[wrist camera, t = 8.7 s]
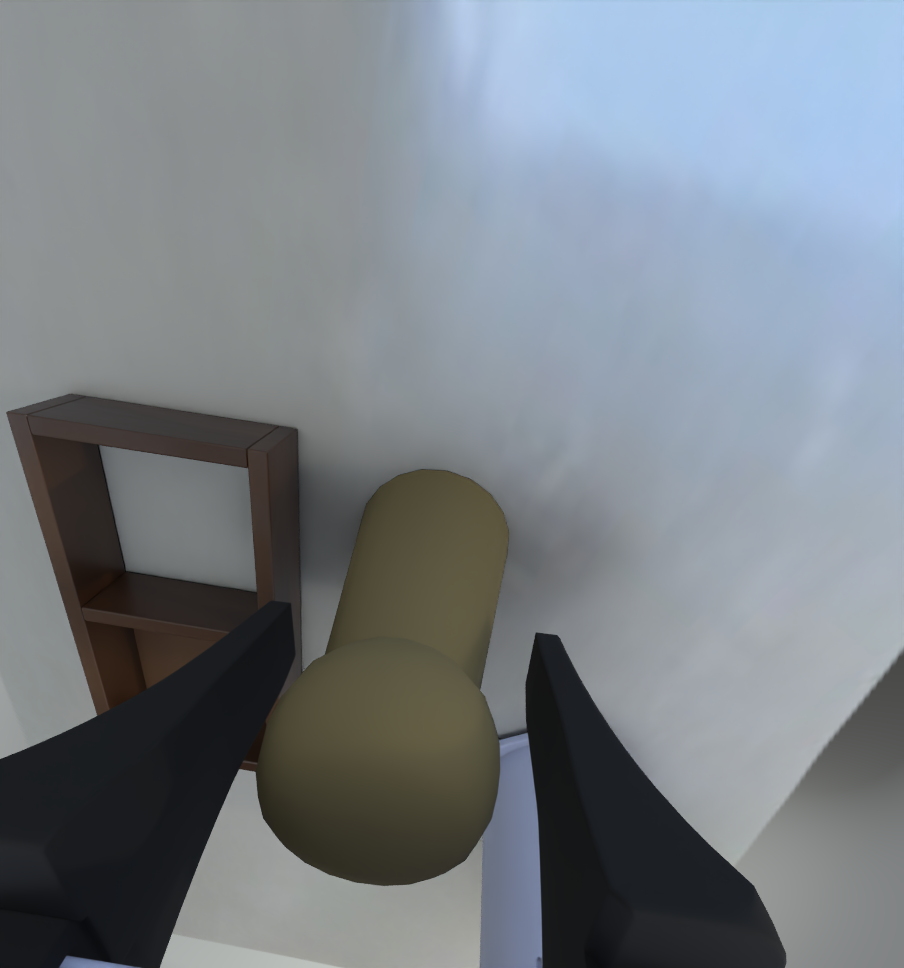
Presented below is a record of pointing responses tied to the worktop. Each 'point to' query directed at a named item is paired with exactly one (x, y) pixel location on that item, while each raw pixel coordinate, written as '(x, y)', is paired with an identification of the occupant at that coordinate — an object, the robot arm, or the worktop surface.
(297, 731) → the cork
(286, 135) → the worktop surface
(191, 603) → the caddy
